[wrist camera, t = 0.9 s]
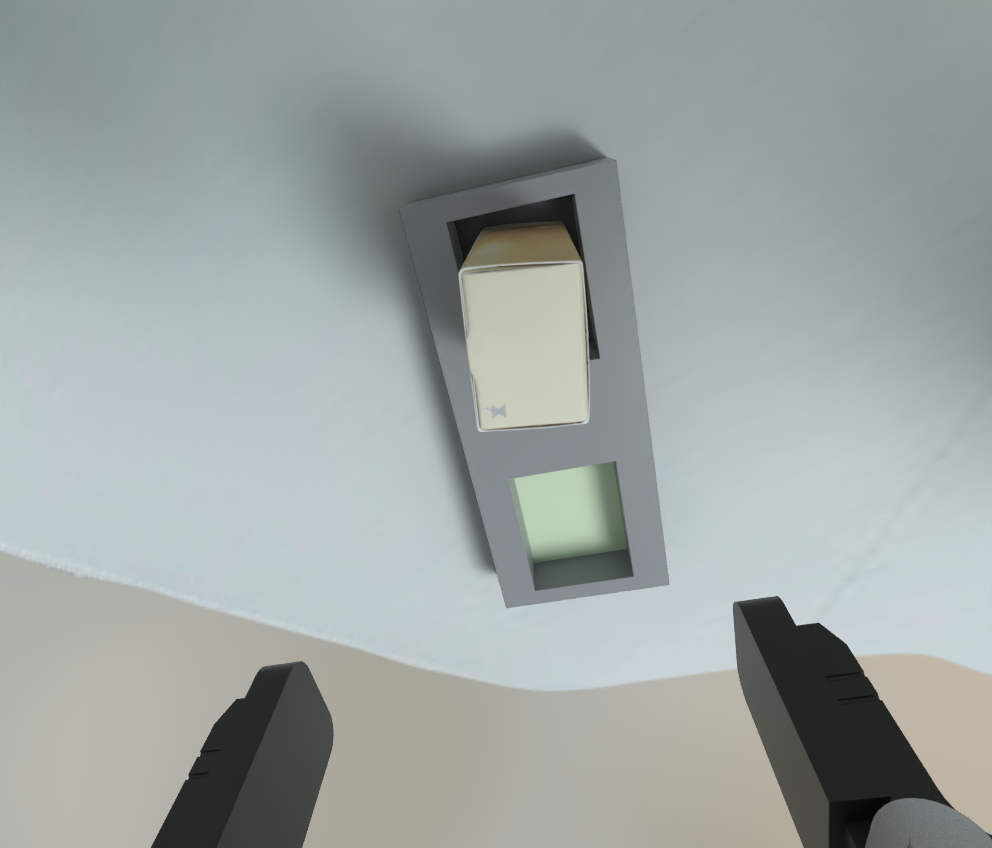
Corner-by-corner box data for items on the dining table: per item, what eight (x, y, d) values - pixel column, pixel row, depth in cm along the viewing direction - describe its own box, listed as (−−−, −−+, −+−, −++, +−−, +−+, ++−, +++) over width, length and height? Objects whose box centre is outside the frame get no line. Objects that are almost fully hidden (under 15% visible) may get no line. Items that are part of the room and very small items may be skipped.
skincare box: (570, 335, 34) (593, 434, 23) (491, 341, 34) (476, 442, 23) (564, 212, 31) (587, 257, 20) (478, 220, 32) (455, 269, 21)
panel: (607, 157, 30) (616, 159, 27) (659, 554, 40) (669, 584, 37) (409, 202, 31) (398, 209, 29) (507, 576, 41) (506, 608, 38)
